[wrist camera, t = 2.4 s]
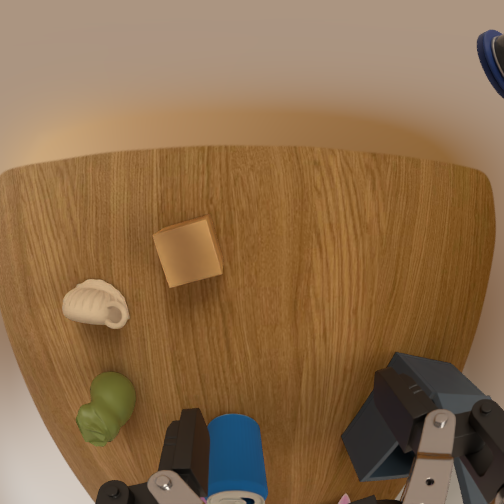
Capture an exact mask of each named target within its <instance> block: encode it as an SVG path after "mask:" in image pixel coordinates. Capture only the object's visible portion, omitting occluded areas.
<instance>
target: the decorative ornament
mask: <svg viewBox="0 0 504 504" xmlns="http://www.w3.org/2000/svg"><path fill="white" fill-rule="evenodd" d="M62 310H63V314H64V316H65V317H66V318H68V319H70V320H73V321H77V322H81V323H88V324H95V325H107V326H108V327H110V328H112V329H119V328H122V327H123V326H124V325H125V324H126V322H127V319H130V317H129V312H128V307H127V305H126V301H125V298H124V297H123V296H122V295H121V293H120V291H119V290H116V289H115V288H114V287H113V286H112V285H111V284H108V283H106V282H105V281H103V280H93V279H88V280H86V281H85V282H84V283H82V284H77V286H76V288H74V289H72V290H71V291H69V292H68V293H67V294H66V295H65V297H64V299H63V307H62ZM118 322H119V323H118Z"/></svg>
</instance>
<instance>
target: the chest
mask: <svg viewBox="0 0 504 504" xmlns="http://www.w3.org/2000/svg"><path fill="white" fill-rule="evenodd" d="M387 367H392V368H393V369H394V370H395V371H396V372H397V374H398V375H399V374H402V373H404V374H406V375H408V376H410V377H412V378H413V379H414V381H415V382H416V383H417V385H419V386H420V387H421V389H422V391H424V392H425V393H426V394H427V396H428V397H429V398H430V399H431V400H432V401H433V398H432V397H433V396H434V395H435V394H436V393H446V394H461V395H484V396H485V394H484V393H482V392H481V391H480V390H479V389H478V388H477V387H476V386H475V385H474V384H473V383H472V382H471V381H470V380H469V379H468V378H466V377H465V376H464V375H463V374H462V373H461V372H460V371H459V370H458V369H457V368H456V367H455V366H453V365H452V364H451V363H447V362H442V361H437V360H432V359H427V358H422V357H417V356H412V355H408V354H403V353H399V352H396V353H395V354H394V356H393V358H392V360H391V361H390V363H389V365H388V366H387ZM373 394H374V389H373V391H372V393H371V394H370V396H369V397H368V399H367V400H366V402H365V403H364V405H363V406H362V408H361V409H360V411H359V412H358V414H357V415H356V416H355V418H354V419H353V421H352V422H351V423H350V425H349V426H348V428H347V429H346V430H345V432H344V433H343V434H342V436H341V437H342V440H343V442H344V445H345V447H346V449H347V452H348V454H349V456H350V459H351V461H352V464H353V466H354V469H355V471H356V473H357V476H358V478H359V481H360V482H364V481H378V480H389V479H397V478H405V477H408V475H409V472H410V469H411V466H412V462H413V458H414V455H415V453H414V452H413V450H411V451H409V452H407V453H404V452H403V450H402V448H401V447H400V445H399V443H398V442H397V440H396V438H395V437H394V435H393V434H392V432H391V430H390V429H389V427H388V425H387V424H386V422H385V421H384V419H383V417H382V416H381V414H380V412H379V411H378V409H377V408H376V406H375V403H374V398H373ZM433 403H434V401H433ZM434 404H435V403H434Z"/></svg>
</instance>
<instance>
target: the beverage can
mask: <svg viewBox="0 0 504 504" xmlns="http://www.w3.org/2000/svg"><path fill="white" fill-rule="evenodd" d="M207 428H208V431H209V436H210V455H209V477H208V497H204V498H205V500H206V501H207V504H265V499H266V498H267V495H268V489H267V481H266V474H265V466H264V458H263V451H262V443H261V435H260V428H259V425H258V424H257V422H256V421H255V420H253V419H252V418H250V417H248V416H245V415H241V414H225V415H221V416H218V417H216V418H215V419H213V420H212V421H211V422H210V423H209V424H208V427H207Z"/></svg>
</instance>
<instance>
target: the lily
mask: <svg viewBox="0 0 504 504" xmlns="http://www.w3.org/2000/svg"><path fill="white" fill-rule="evenodd" d="M348 503H351V502H350V499H349V497H348V495H347V494H344V495H343V497H342V498H341V500H340V501H339V503H338V504H348Z"/></svg>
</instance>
